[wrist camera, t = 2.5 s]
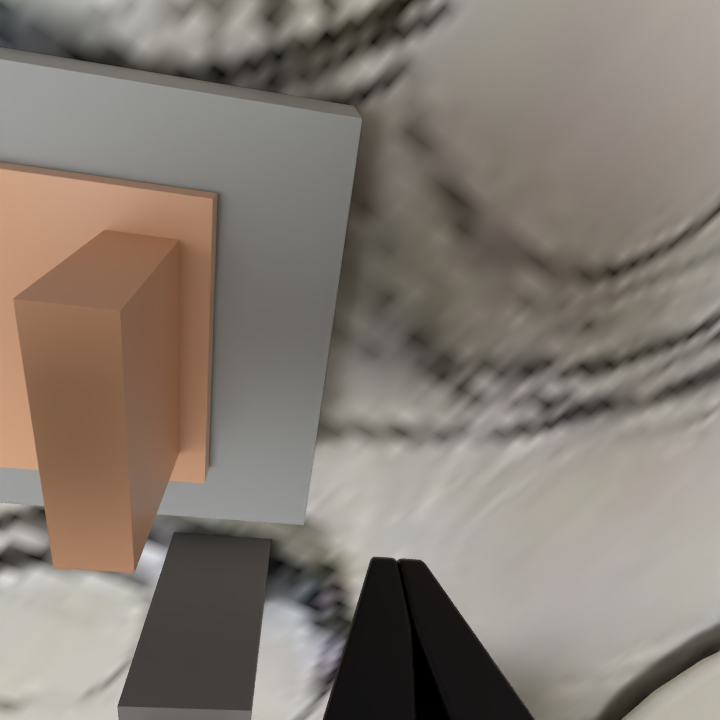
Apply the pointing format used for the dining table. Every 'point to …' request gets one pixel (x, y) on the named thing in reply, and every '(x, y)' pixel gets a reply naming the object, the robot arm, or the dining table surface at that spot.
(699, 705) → the plated food
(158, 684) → the grey rectangular block
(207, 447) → the shutter
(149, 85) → the socket
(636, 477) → the dining table surface
